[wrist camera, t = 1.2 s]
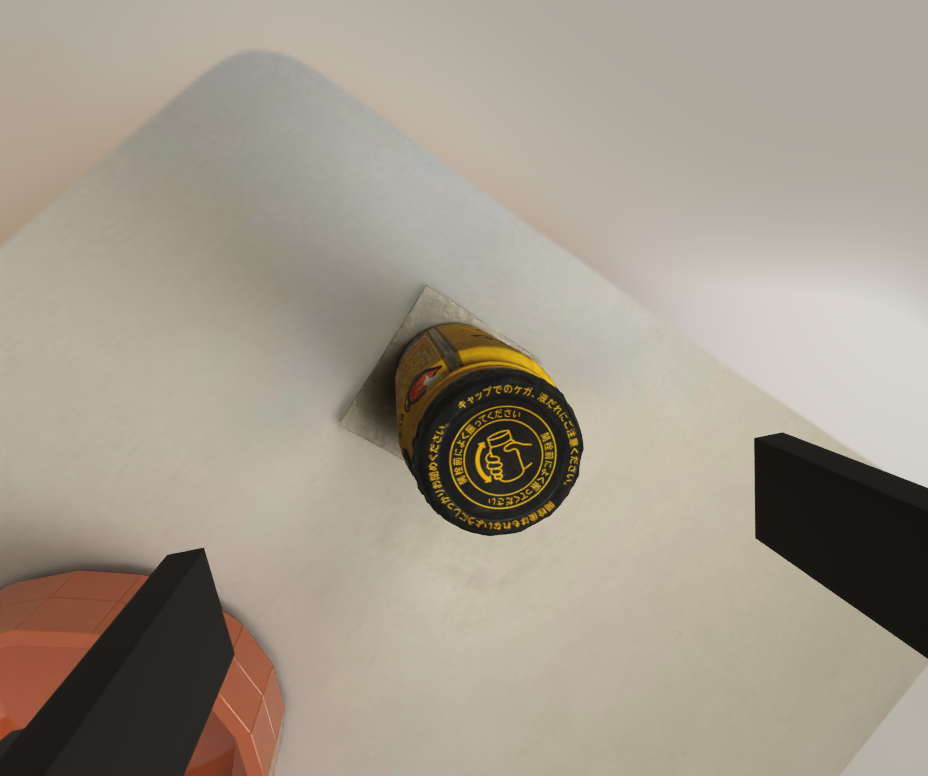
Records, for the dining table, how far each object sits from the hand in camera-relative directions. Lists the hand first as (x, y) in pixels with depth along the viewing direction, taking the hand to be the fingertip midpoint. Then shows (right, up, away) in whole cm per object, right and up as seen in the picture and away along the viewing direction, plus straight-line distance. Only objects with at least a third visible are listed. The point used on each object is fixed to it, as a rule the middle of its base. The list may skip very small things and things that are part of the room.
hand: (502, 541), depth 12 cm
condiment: (-2, +3, +15) cm, 15 cm away
